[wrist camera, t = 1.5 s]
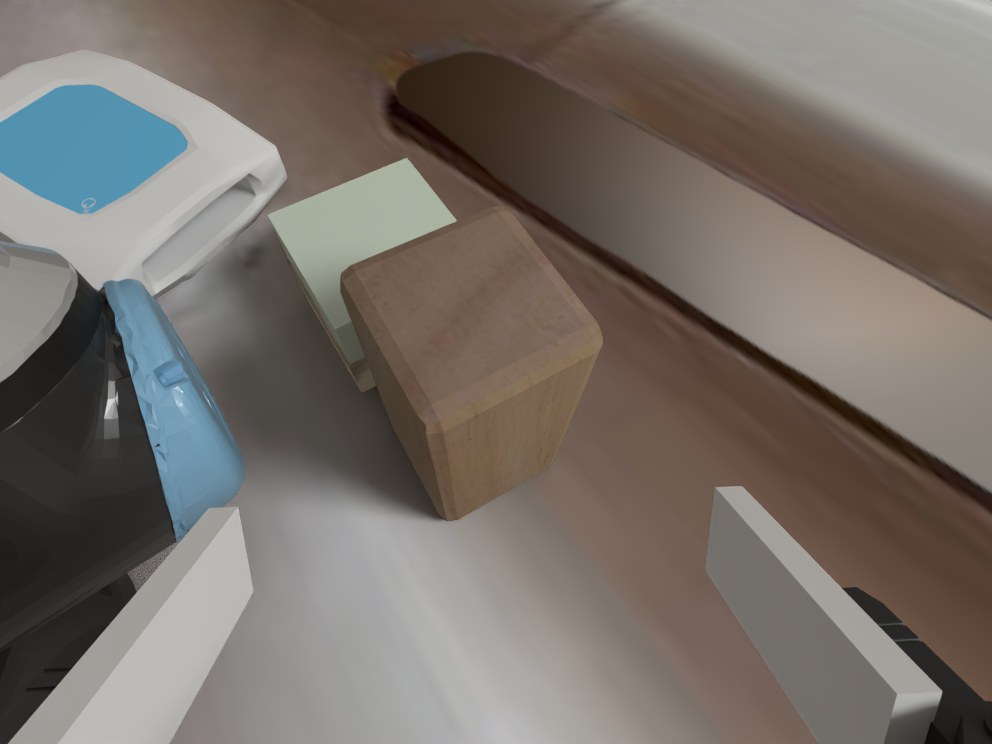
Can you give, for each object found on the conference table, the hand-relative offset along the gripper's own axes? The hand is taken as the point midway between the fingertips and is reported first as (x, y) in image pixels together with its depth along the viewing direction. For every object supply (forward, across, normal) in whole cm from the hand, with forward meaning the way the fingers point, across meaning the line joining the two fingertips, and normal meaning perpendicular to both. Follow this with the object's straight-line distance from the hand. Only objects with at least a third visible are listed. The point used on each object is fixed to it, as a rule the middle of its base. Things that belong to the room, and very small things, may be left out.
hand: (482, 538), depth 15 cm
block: (+27, 0, -10) cm, 28 cm away
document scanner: (+46, -35, +10) cm, 59 cm away
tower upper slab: (+32, -7, +3) cm, 33 cm away
